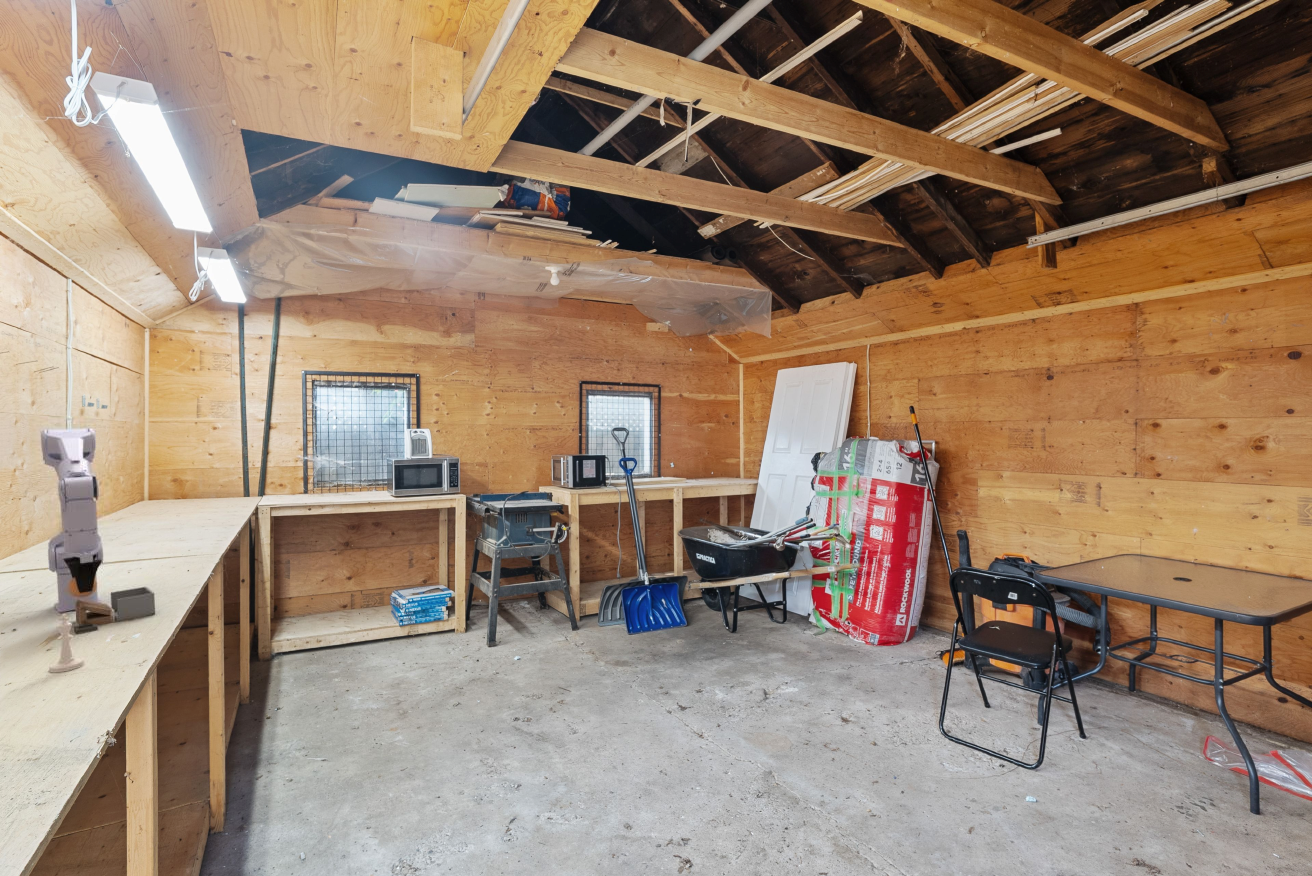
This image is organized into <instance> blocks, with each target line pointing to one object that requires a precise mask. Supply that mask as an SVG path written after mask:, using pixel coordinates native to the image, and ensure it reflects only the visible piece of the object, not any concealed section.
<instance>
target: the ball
mask: <svg viewBox="0 0 1312 876" xmlns="http://www.w3.org/2000/svg"><path fill="white" fill-rule="evenodd" d="M96 588H97V589H98V581H96V579H95V580H94V585H93V589H92V591H90V592H84V593H79V591H78V588H77V584H76V580H75V577H74V578H73V579H72V580H71V581H70V582H69V584H68V591H69V593H70V594H71V595H73V596H75V597H86V596H89V595H90V594H92V593H93V592H94V591H95V590H96Z"/></svg>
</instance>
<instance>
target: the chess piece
mask: <svg viewBox="0 0 1312 876" xmlns="http://www.w3.org/2000/svg"><path fill="white" fill-rule="evenodd" d="M58 620H59V621H61V623H60V624H58V625H57V626H56V628H57V629H58V631H59V633H60V635H59V637H57V640H58V641H61V651H60V657H59V658H58V659H57V662H54V663H52V664H50V665H49V667H48V668H49V669H48V672H49V673H63V672H68V671H73V670H75V669H78V668H81V667H82V666H84V665H85V662H84V661H85V659H83V658H80V657H79V658H77V657H75V656H73V654H72V649H71V645H70V639H72V638H74V636H73V634H70V632H71V628H72V625H73V624H72V623H71V622H67V621H69V620H70V617H68V616H67V613H64V614H63V613H62V614H61V616H60V617H59V619H58Z"/></svg>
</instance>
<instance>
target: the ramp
mask: <svg viewBox="0 0 1312 876" xmlns="http://www.w3.org/2000/svg"><path fill="white" fill-rule="evenodd" d="M74 611H75V620H76V623H77V625H78V626H80V625H85V624H91V623H96V624H97V626H99V625H104V624H109V623H110V624H111V623H115V622H116V621H115V615H114V610H113V609H112V608H111V604H109V603H103V602H102V603H98V602H93V601H88V600H83V599H77V601H76V602H75V610H74Z"/></svg>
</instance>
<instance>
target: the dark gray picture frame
mask: <svg viewBox="0 0 1312 876" xmlns="http://www.w3.org/2000/svg"><path fill="white" fill-rule="evenodd" d="M98 630H99V625H97V624H96V623H91V624H85V625H80V626H79V625H75V626H73V631H74V633H75V634H76V635H79V634H82V633H89V632H92V631H98Z"/></svg>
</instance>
